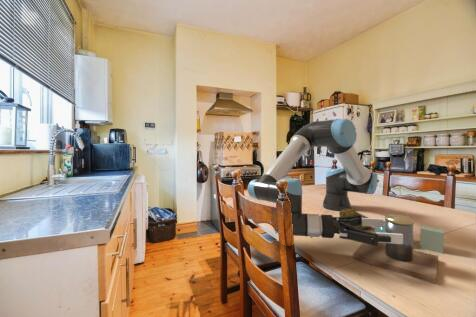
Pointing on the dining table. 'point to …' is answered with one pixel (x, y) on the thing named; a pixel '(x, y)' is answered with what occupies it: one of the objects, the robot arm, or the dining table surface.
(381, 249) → the walnut board
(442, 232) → the sage box
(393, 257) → the tea tin
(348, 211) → the potato
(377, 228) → the teal domed cylinder
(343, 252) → the dining table surface
